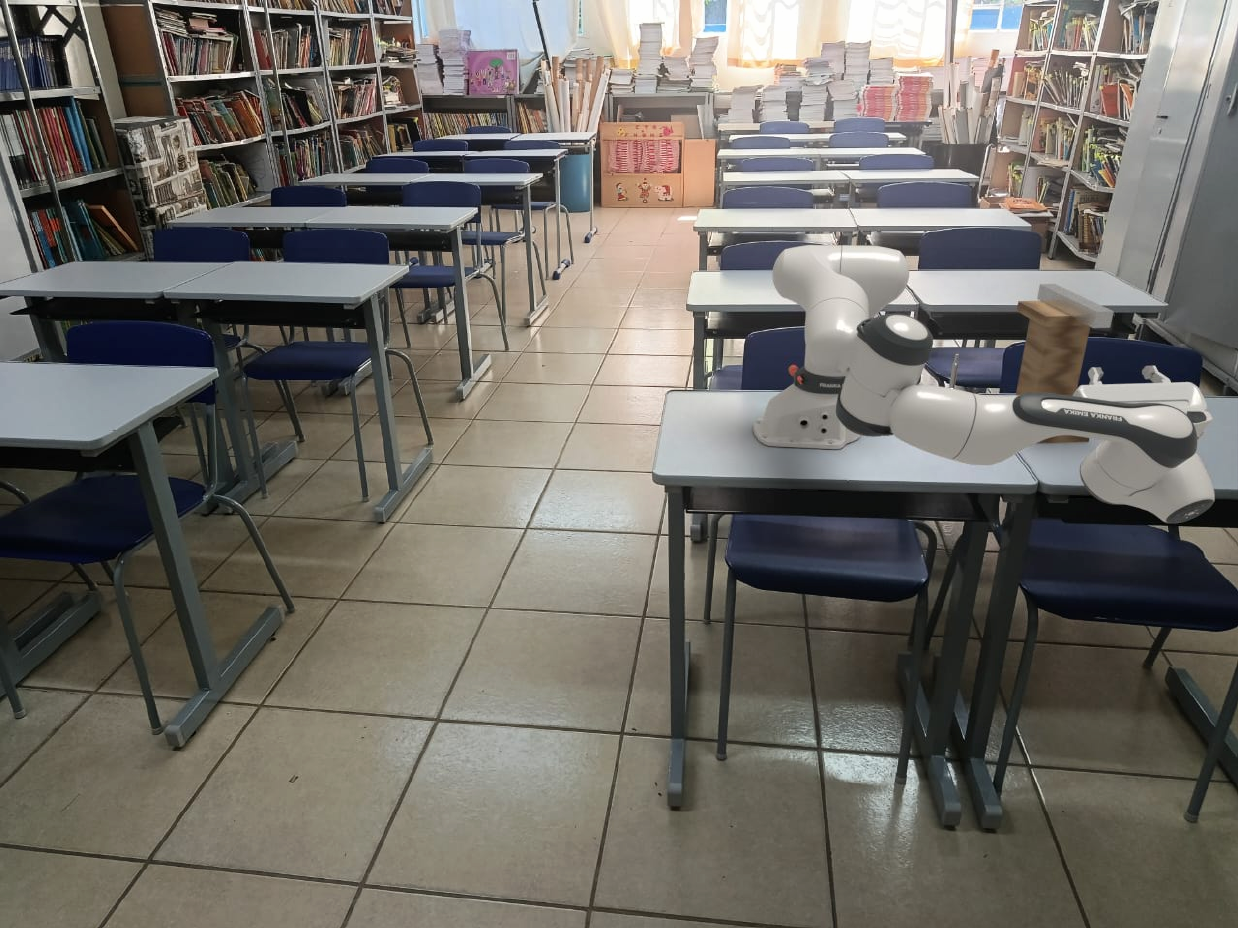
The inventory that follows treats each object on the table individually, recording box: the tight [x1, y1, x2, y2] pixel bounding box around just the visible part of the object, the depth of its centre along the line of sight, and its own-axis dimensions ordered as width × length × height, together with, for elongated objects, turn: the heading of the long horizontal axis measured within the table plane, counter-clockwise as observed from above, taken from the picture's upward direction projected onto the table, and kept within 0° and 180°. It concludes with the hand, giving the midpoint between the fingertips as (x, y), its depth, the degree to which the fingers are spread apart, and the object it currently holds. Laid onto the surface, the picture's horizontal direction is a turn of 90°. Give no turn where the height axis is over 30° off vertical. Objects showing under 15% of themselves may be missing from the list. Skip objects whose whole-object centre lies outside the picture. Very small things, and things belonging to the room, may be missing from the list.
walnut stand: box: [1015, 300, 1091, 444], centre depth 169 cm, size 14×14×26 cm
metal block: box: [1036, 283, 1115, 329], centre depth 159 cm, size 3×22×3 cm, turn 0°
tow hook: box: [947, 353, 960, 389], centre depth 186 cm, size 8×13×9 cm
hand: (1120, 368), depth 145 cm, fingers open, 8 cm apart
